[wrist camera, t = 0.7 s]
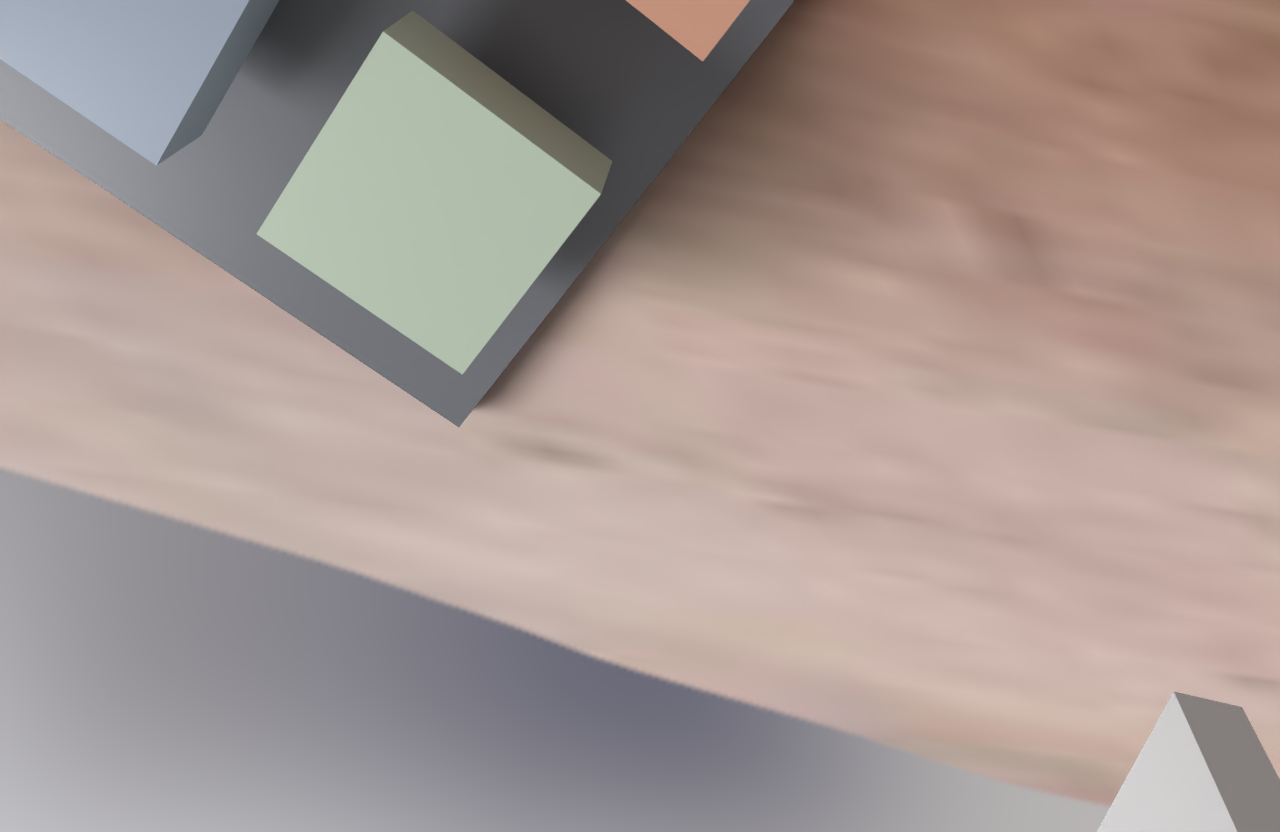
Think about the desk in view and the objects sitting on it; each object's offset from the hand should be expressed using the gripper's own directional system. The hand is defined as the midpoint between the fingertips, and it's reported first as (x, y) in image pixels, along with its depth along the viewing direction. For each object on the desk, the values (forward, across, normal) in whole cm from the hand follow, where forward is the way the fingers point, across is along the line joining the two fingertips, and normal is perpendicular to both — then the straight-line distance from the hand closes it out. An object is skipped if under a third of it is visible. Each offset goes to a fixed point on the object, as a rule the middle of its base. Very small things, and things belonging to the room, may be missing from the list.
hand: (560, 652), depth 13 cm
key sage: (+17, -5, -1) cm, 18 cm away
